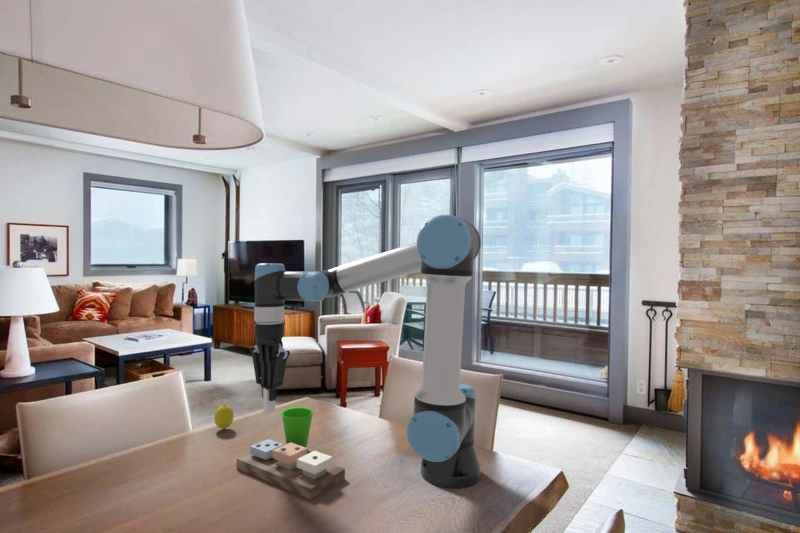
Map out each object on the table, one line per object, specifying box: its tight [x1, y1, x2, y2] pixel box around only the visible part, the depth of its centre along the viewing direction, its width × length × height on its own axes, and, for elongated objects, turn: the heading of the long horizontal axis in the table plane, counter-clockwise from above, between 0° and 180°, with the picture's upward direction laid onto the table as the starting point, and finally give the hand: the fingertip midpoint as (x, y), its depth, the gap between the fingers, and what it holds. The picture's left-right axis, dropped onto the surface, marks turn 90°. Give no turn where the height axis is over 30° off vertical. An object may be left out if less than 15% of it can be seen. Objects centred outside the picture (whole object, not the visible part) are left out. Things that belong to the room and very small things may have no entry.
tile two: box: [273, 442, 308, 470], centre depth 115 cm, size 6×6×5 cm
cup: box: [280, 406, 315, 449], centre depth 128 cm, size 9×9×11 cm
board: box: [236, 452, 346, 501], centre depth 115 cm, size 26×12×2 cm, turn 57°
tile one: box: [297, 450, 334, 480], centre depth 110 cm, size 6×6×5 cm
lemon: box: [214, 403, 234, 431], centre depth 142 cm, size 6×6×8 cm
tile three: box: [249, 438, 285, 461], centre depth 119 cm, size 6×6×5 cm
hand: (269, 412), depth 119 cm, fingers closed
